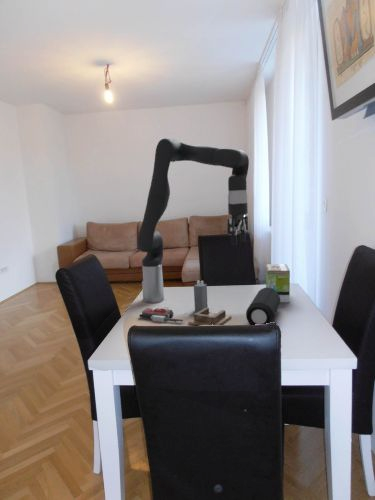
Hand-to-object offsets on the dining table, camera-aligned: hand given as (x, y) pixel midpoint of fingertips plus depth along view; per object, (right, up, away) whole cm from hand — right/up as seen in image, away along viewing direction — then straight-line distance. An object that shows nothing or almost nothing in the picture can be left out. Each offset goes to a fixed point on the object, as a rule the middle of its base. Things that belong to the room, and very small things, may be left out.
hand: (238, 243), depth 141 cm
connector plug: (-14, -29, +11) cm, 34 cm away
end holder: (-11, -31, -3) cm, 33 cm away
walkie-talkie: (-30, -31, +3) cm, 44 cm away
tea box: (+21, -25, +23) cm, 40 cm away
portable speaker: (+10, -30, -3) cm, 32 cm away
